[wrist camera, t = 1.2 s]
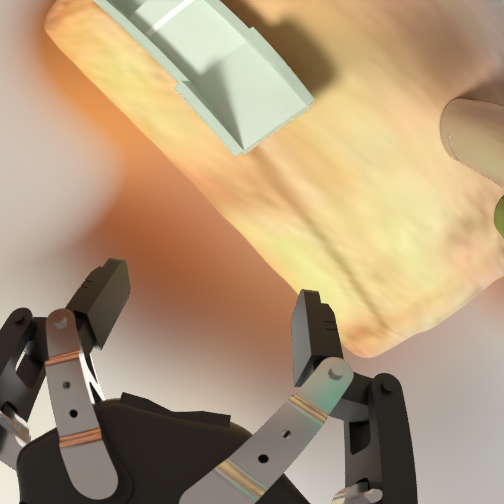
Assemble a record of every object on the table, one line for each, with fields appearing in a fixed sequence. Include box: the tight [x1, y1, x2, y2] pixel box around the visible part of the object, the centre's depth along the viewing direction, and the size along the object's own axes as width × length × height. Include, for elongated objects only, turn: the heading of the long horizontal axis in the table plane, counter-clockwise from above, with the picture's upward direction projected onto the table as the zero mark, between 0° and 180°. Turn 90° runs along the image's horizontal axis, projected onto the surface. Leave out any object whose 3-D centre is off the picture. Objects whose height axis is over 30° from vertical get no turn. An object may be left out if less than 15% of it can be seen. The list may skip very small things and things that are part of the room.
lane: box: [93, 0, 315, 156], centre depth 20 cm, size 9×32×6 cm, turn 38°
